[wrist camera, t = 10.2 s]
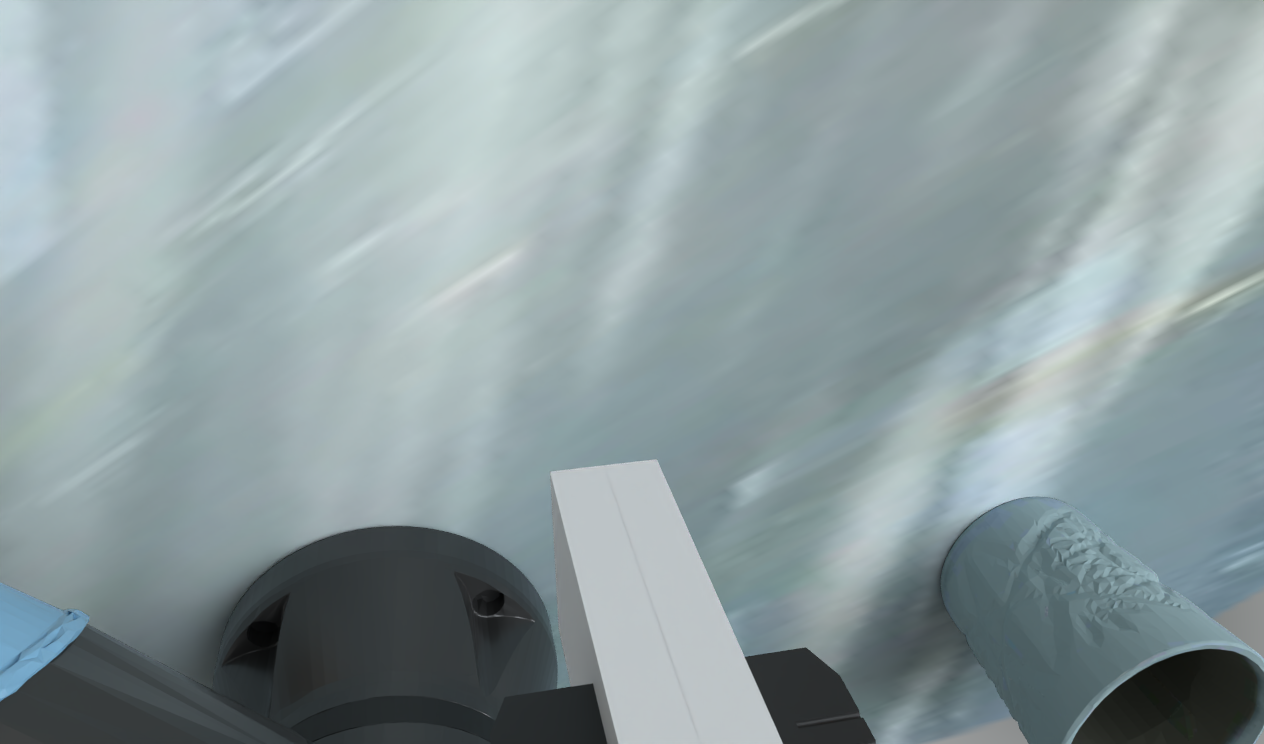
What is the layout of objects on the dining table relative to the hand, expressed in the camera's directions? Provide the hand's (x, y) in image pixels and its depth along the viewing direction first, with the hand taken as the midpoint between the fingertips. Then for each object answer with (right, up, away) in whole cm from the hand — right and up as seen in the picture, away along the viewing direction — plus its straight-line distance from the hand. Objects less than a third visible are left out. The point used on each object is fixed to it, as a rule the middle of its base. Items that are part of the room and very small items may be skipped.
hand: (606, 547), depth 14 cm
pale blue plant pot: (+20, -8, +39) cm, 44 cm away
